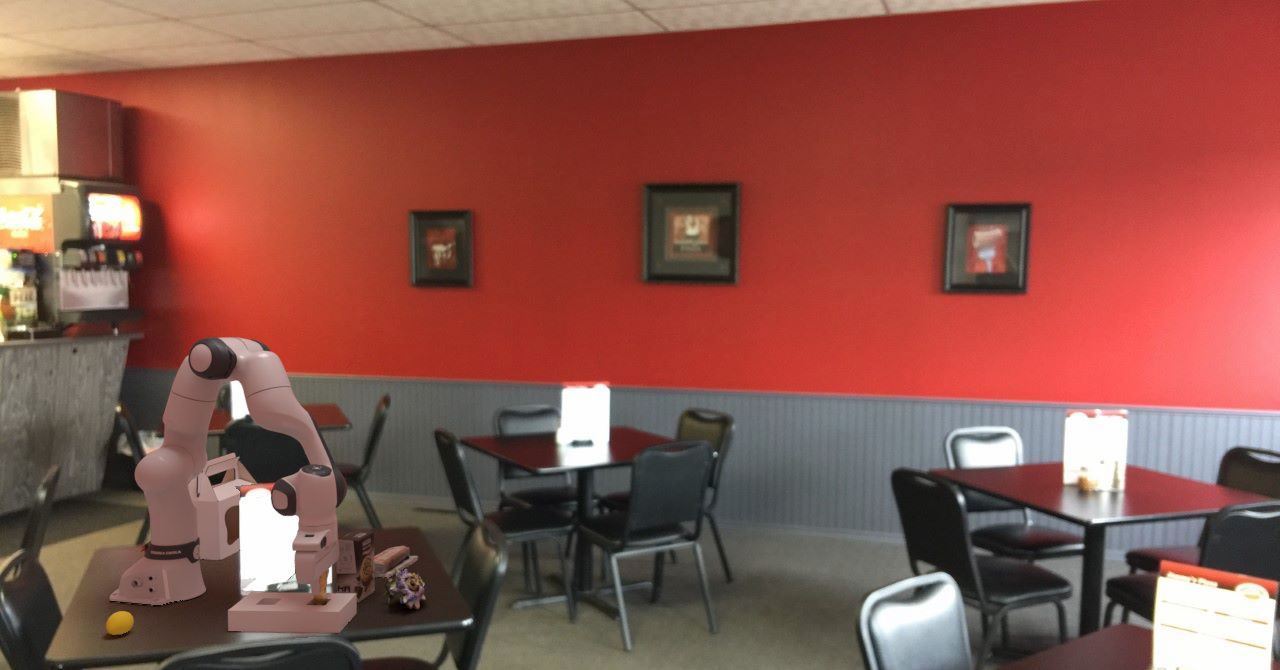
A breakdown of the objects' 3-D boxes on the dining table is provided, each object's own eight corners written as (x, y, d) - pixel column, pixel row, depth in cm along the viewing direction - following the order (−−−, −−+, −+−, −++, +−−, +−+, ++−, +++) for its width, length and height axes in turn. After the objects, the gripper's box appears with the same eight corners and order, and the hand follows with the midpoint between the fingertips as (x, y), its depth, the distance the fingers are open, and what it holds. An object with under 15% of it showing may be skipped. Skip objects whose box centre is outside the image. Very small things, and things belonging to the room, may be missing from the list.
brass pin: (311, 612, 233) (310, 571, 233) (316, 608, 236) (315, 567, 236) (324, 612, 233) (323, 571, 233) (328, 608, 236) (327, 567, 236)
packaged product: (389, 563, 268) (356, 560, 270) (389, 580, 268) (356, 577, 271) (418, 544, 286) (387, 542, 288) (418, 561, 286) (387, 558, 288)
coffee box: (359, 603, 249) (358, 540, 248) (335, 601, 250) (334, 538, 249) (375, 591, 258) (375, 531, 256) (353, 589, 259) (352, 529, 258)
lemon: (122, 642, 223) (119, 620, 222) (100, 640, 224) (97, 619, 223) (141, 627, 230) (139, 605, 229) (120, 625, 231) (117, 604, 230)
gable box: (219, 561, 284) (217, 465, 282) (178, 558, 286) (175, 463, 284) (261, 540, 306) (259, 451, 304) (222, 538, 308) (220, 449, 306)
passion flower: (416, 629, 245) (412, 601, 238) (375, 619, 247) (370, 590, 239) (433, 593, 254) (430, 564, 246) (394, 583, 255) (390, 554, 248)
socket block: (228, 631, 229) (227, 610, 228) (251, 612, 242) (251, 592, 241) (339, 632, 228) (339, 611, 228) (356, 613, 241) (356, 593, 241)
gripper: (319, 522, 244) (321, 577, 245) (289, 545, 224) (290, 605, 224) (345, 522, 244) (346, 577, 245) (316, 545, 223) (318, 605, 224)
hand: (319, 590), depth 234 cm, fingers closed on brass pin, 3 cm apart
